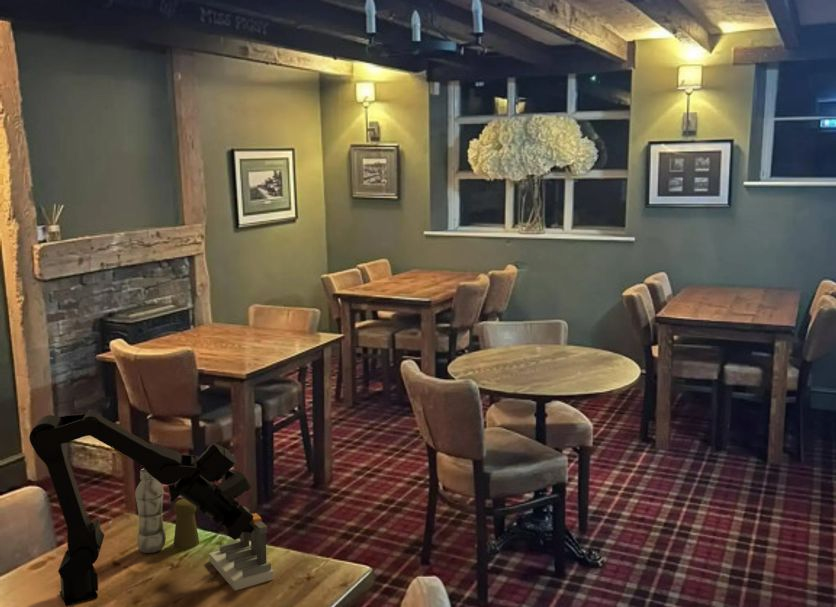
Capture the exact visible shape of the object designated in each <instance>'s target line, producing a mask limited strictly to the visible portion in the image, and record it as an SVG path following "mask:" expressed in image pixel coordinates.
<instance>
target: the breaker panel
mask: <svg viewBox="0 0 836 607" xmlns="http://www.w3.org/2000/svg"><path fill="white" fill-rule="evenodd" d="M208 557H209V562H210V564H211V565H212V566H213V567H214V568H215V570H216V571H218V573H219V574H220V575H221V576H222V577H223V578H224V580H225V581H226V582H227V583H228V584H229V586H230V587H231V588H232V589H233V590H234V591H238V589H239V590H242V589H244V588H248V587H252V586H256V585H260V584H263V583H267V582H268V581H269V582H270V581H273V580H274V579H275V576H274V575H275V573H274V572H275V570H273V568H272V563H271V562H266V563H265V564H261V565H257V555H253V556H252V555H251V545H249V546H247V547H243V548H240V540H235V541H233V542H229V543H226V544H221V545H219V550H217V551H212V552H208Z"/></svg>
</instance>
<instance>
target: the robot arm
mask: <svg viewBox="0 0 836 607" xmlns="http://www.w3.org/2000/svg"><path fill="white" fill-rule="evenodd" d="M89 436H90V437H92V438H93V439H96V440H97V441H99V442H100V443H103V444H104V445H106V446H108V447H109V448H112V449H113V450H116V451H117V452H119V453H120V454H122V455H124V456H126V457H128V458H129V459H131V460H133V461H135V462H137V463H138V464H139V465H141V467H142V468H143V469H145V470H146V471H147V472H148V473H149V474H150V475H151V476H153V477H154V478H155V479H156V480H157V481H159V482H160V483H161V484H162V485H164V486H167V488H168V497H169V500H170V502H171V503H173V502H176V500H177V498H179V497H182V499H186V500H187V501H189V502H190V503H192V504H193V505H194V506H196V509H198V510H199V511H200V512H201V513H203V514H204V515H207V516H208V517H210V519H212V520H213V521H214V522H215V523H217V524H219V525H220V526H222V530H223V532H224V533H226V535H227V536H228V537H230V538H231V539H232V540H234V541H237V540H238V538H240V535H241V534H242V532H247V533H249V534H251V532H252V531H253V530H254V528H253V527H252V526H251V521H252V520H253V515H252V514H253V513H251V511H250V512H248V511H247V510H246V509H245V508H244V506H243V505H241V504H240V503H239V502H238V501H237V500H236V498H238V497H240V496H241V495H243V494H244V493H246V492H248V491H250V489H251V488H252V486H251V484H250V482H249V481H248V478H247V477H246V475H245V474H244V473H243V472H241V471H239V470H238V471H237V470H235V471H234V472H233V471H232V470H231V469H232V468H234V466H235V465H236V464H237V459H236V458H235V456H234V455H233V454H232V453H231V451H229V449H227V448H226V447H223V446H222V445H220V444H217V443H216V442H215V441H212V442H211V443H210V444H209V445H208V447H207V448H206V450H205V451H203V452H202V453H201V454H200V455H199V456H198V455H194V454H181V453H180V452H179V451H177V450H175V449H171V448H169V447H166V446H164V445H157V444H152V443H150V442H147V441H146V440H144V439H142V438H141V437H139V436H136V435H135V434H133V433H132V432H130V431H128V430H126V429H124V428H123V427H121V426H120V425H118V424H116V423H114V422H113V421H110V420H109V419H107V418H105V417H103V415H101V414H100V413H99V412H96V411H89V412H85V413H77V414H75V413H74V414H73V413H72V414H66V415H62V416H57V415H52V414H50V415H49V414H48V415H45V416H43V417H41V418H40V419H39V420H38V421H37V422H36V424H35V425H34V427H33V428H32V430H31V432H30V433H29V436H28V438H29V444H30V445H31V446H32V448H33V450H34V452H35V454H36V456H37V457H38V459H40V460H41V461H42V463H44V465H45V466H46V469H47V471H48V474H49V477H50V480H51V483H52V486H53V489H54V492H55V496H56V497H57V501H58V504H59V507H60V510H61V514H62V516H63V518H64V522H65V524H66V536H67V537H66V538H67V542H66V544H67V545H66V546H67V550H66V551H65V552H64V555H63V558H62V561H61V563H60V565H59V567H58V570H57V573H58V574H59V575H60V576H59V578H60V591H59V595H60V598H61V600H62V602H63V604H64V606H66V607H67V606H71V605H76V604H78V603H79V604H80V603H83V602H86V601H90V600H94V599H97V598H98V597H99V596H98V595H99V593H97V592H98V591H99V578H98V577H99V576H98V572H97V570H96V568H95V566H94V564H95V563H96V562H97V560H98V558H99V555H100V553H101V552H100V551H101V549H102V545H103V542H104V538H105V533H104V532H103V531H102V529H101V523H100V519H96V520H94V521H93V520H91V519H90V517H89V516H88V515H87V511H86V508H85V505H84V503H83V500H82V496H81V493H80V490H79V487H78V484H77V481H76V477H75V474H74V472H73V468H72V466H71V461H70V460H69V456H68V443H69V442H72V441H73V442H74V441H76V440H79V439H81V438H83V437H84V438H85V437H89ZM219 481H220V483H219V484H216V483H214V482H219Z"/></svg>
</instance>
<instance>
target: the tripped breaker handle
mask: <svg viewBox="0 0 836 607" xmlns="http://www.w3.org/2000/svg"><path fill="white" fill-rule="evenodd" d="M251 514H252V515H253V520H252V521H251V522H250V525H251V526H252V527H253V528H254V523H257V522H261V521H262V517H261V516H260V515H259V514H258V513H257V512H255V513H251ZM250 546H251V555H252V556H253V555H257V542H256V530H255V529H254V530H253V531H252V532H251V533H250Z"/></svg>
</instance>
